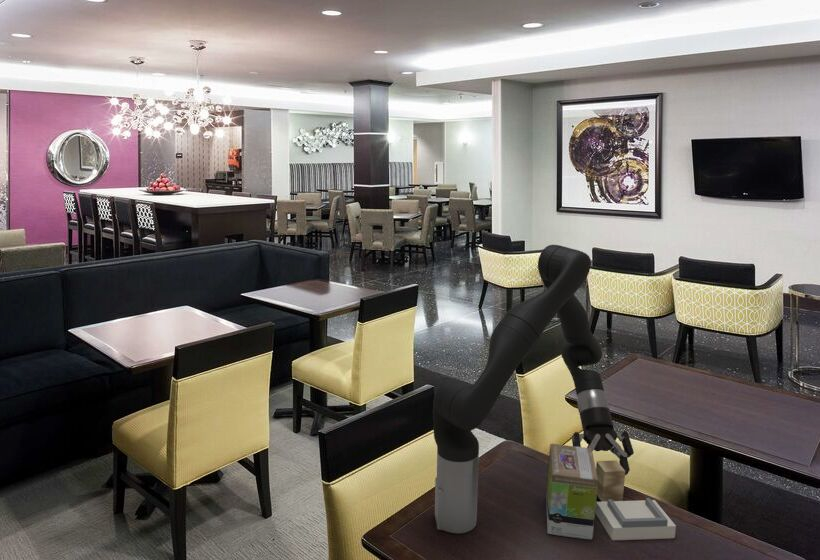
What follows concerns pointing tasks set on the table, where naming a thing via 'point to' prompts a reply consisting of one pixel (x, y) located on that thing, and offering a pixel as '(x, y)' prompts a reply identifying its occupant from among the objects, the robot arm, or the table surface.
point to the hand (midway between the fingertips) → (608, 475)
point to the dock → (635, 520)
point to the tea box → (571, 491)
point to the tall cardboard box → (610, 481)
